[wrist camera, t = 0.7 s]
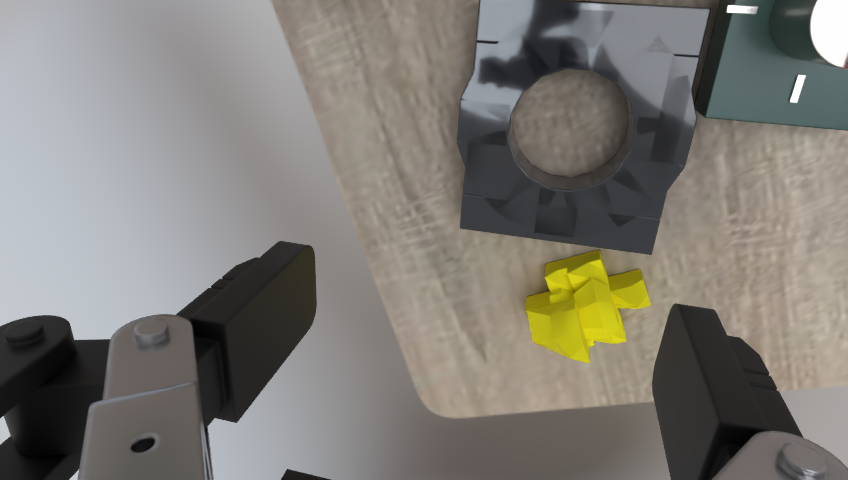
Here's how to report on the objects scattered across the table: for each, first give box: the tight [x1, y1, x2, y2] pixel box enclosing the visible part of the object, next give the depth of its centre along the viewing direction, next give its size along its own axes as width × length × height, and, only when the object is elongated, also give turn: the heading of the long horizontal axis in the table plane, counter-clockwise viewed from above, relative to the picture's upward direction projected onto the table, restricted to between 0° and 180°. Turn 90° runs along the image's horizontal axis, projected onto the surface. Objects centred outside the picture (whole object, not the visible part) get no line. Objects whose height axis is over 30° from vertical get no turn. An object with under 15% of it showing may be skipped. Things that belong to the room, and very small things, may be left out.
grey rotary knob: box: [770, 0, 848, 69], centre depth 25 cm, size 4×4×5 cm
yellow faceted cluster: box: [525, 250, 651, 363], centre depth 35 cm, size 6×8×8 cm
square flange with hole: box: [457, 0, 711, 255], centre depth 33 cm, size 14×13×3 cm
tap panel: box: [695, 0, 848, 131], centre depth 28 cm, size 11×9×3 cm
